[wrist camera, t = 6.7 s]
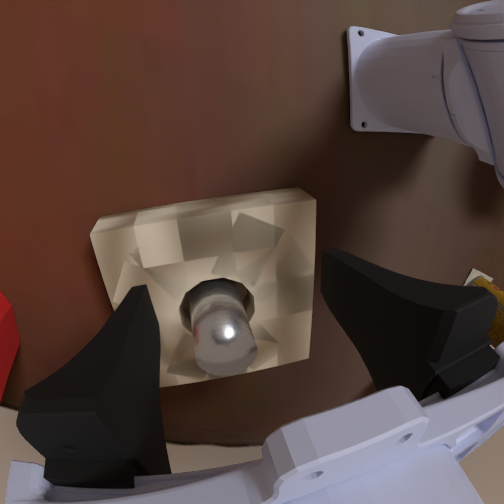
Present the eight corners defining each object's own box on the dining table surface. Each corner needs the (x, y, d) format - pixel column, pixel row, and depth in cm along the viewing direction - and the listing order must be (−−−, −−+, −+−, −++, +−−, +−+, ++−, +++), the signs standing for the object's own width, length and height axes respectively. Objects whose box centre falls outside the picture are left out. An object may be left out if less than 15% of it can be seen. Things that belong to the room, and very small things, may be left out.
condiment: (492, 277, 34) (550, 325, 24) (462, 327, 37) (512, 379, 27) (471, 267, 32) (539, 321, 21) (438, 324, 35) (495, 384, 24)
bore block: (299, 187, 22) (316, 199, 20) (297, 336, 29) (308, 358, 26) (99, 217, 20) (89, 234, 17) (146, 364, 26) (146, 389, 24)
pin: (225, 260, 23) (245, 322, 17) (242, 296, 24) (265, 362, 18) (179, 279, 23) (184, 346, 16) (199, 314, 24) (211, 382, 18)
